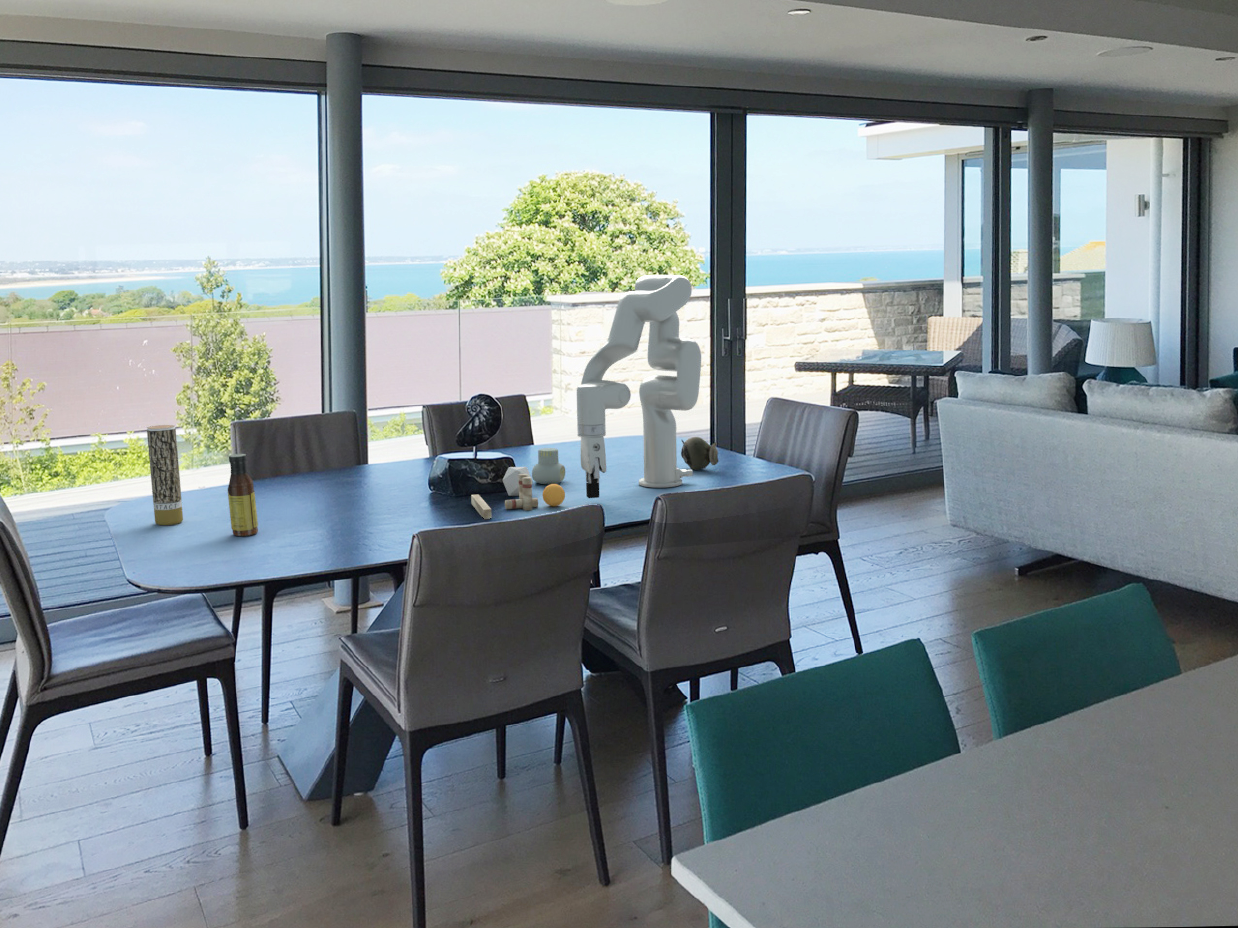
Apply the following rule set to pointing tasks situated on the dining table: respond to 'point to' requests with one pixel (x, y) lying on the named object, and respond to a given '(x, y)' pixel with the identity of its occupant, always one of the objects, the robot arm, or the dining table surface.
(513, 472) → the die
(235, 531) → the sauce bottle
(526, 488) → the pin
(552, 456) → the air freshener
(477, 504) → the backstop
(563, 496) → the ball
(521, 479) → the pin
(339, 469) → the dining table surface
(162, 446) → the paper tube
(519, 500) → the front pin
